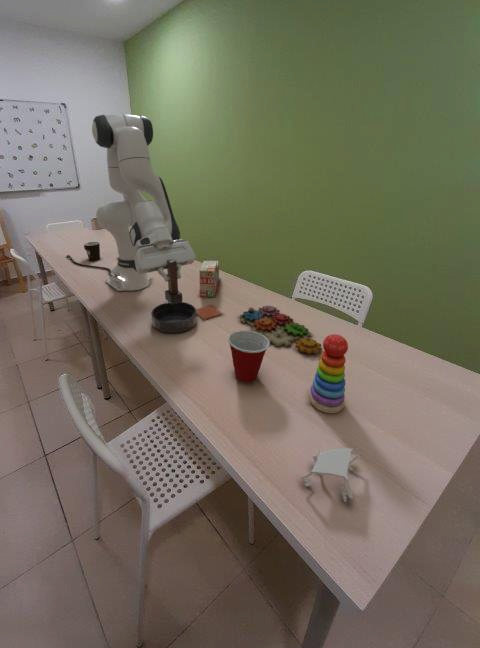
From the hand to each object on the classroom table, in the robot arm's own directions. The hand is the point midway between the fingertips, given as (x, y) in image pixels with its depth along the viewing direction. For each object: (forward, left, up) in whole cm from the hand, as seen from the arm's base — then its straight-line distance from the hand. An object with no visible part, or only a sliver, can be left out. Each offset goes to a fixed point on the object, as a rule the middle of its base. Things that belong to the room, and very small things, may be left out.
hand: (173, 279), depth 96 cm
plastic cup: (+31, -4, -20) cm, 37 cm away
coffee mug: (-97, +27, -20) cm, 103 cm away
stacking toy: (+51, 0, -20) cm, 55 cm away
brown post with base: (-1, 0, -8) cm, 8 cm away
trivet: (0, +17, -20) cm, 26 cm away
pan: (-5, +4, -20) cm, 21 cm away
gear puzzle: (+28, +22, -20) cm, 41 cm away
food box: (-15, +38, -20) cm, 45 cm away
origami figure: (+59, -18, -20) cm, 64 cm away
